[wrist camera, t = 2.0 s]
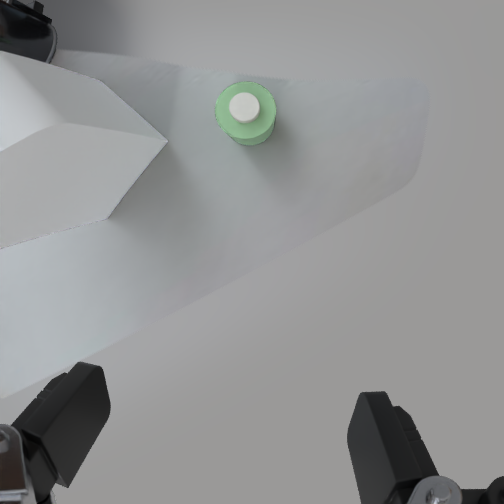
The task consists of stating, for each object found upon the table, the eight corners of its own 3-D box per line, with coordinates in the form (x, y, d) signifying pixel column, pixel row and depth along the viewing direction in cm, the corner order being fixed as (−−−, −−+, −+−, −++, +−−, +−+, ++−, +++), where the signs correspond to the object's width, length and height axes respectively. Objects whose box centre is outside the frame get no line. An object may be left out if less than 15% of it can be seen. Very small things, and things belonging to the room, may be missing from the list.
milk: (168, 141, 32) (-27, 103, 7) (106, 219, 35) (-82, 302, 10) (100, 80, 31) (-78, 15, 5) (47, 156, 33) (-134, 173, 8)
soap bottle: (224, 100, 31) (211, 79, 23) (272, 98, 31) (274, 75, 23) (226, 146, 32) (213, 139, 24) (275, 144, 32) (278, 136, 24)
